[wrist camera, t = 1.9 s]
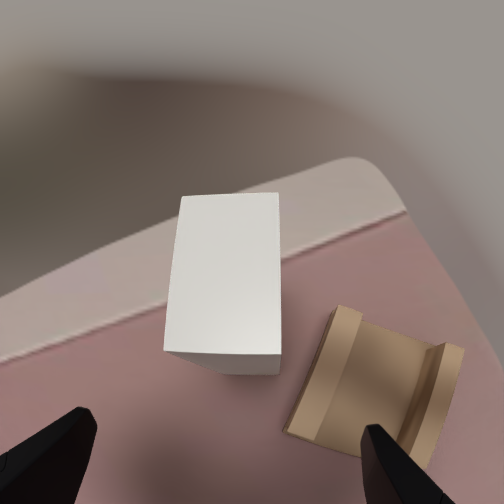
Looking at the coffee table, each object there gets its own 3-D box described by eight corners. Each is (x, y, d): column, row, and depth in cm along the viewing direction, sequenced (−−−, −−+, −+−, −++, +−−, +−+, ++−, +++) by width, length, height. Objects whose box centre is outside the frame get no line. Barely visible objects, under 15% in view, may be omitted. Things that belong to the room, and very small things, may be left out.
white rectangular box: (279, 375, 20) (281, 354, 9) (222, 374, 21) (162, 350, 10) (279, 291, 23) (278, 192, 12) (226, 292, 23) (180, 196, 12)
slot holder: (401, 465, 16) (422, 476, 13) (282, 431, 18) (283, 439, 15) (440, 350, 20) (466, 341, 16) (331, 312, 22) (341, 296, 18)
